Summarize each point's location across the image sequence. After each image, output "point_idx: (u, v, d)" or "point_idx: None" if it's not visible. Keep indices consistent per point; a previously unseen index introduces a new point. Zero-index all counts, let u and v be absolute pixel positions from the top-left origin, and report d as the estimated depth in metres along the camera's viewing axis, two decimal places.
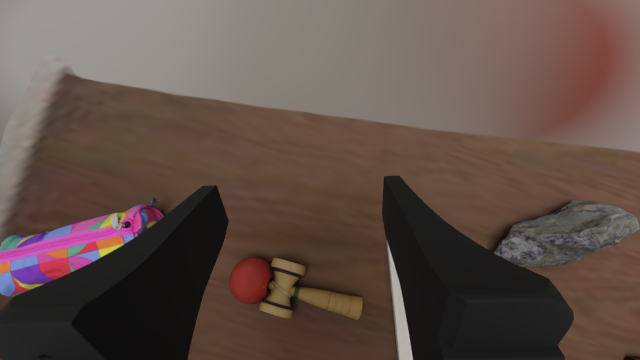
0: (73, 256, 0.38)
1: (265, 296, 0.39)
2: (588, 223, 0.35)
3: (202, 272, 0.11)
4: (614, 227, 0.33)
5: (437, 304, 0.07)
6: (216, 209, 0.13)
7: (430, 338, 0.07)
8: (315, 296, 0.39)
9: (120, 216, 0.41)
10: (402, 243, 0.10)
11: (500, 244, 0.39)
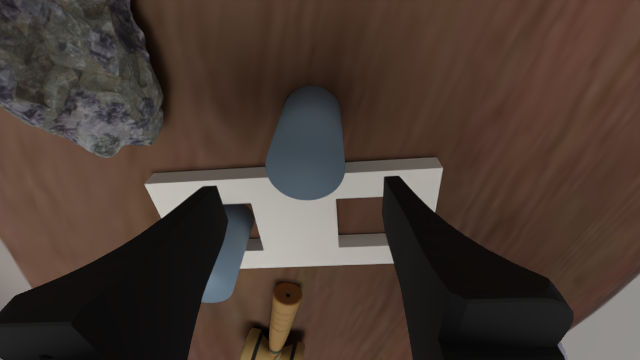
0: None
1: None
2: None
3: (202, 272, 0.11)
4: None
5: (437, 304, 0.07)
6: (216, 209, 0.13)
7: (430, 338, 0.07)
8: (275, 340, 0.32)
9: None
10: (402, 243, 0.10)
11: None
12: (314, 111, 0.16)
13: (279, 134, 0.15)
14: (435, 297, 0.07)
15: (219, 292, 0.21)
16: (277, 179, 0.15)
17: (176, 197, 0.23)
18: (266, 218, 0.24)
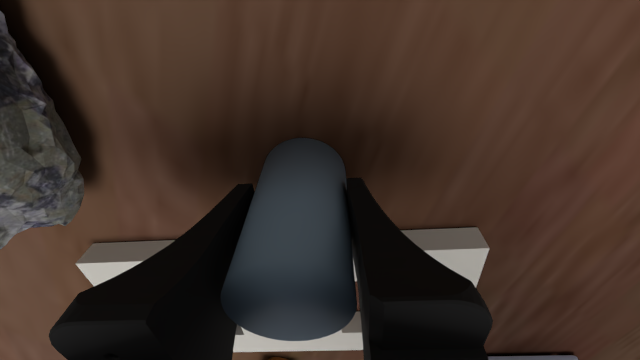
0: None
1: None
2: None
3: None
4: None
5: (367, 306, 0.07)
6: None
7: (367, 339, 0.07)
8: None
9: None
10: (356, 245, 0.10)
11: None
12: (304, 198, 0.10)
13: (244, 250, 0.09)
14: (366, 299, 0.07)
15: None
16: (243, 317, 0.09)
17: None
18: None
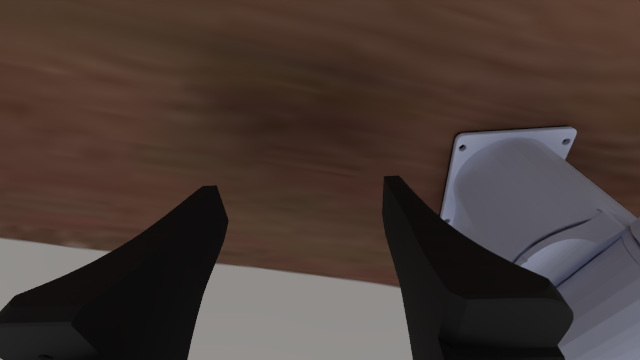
0: None
1: None
2: None
3: (202, 272, 0.11)
4: None
5: (437, 304, 0.07)
6: (216, 209, 0.13)
7: (430, 338, 0.07)
8: None
9: None
10: (402, 243, 0.10)
11: None
12: None
13: None
14: (435, 297, 0.07)
15: None
16: None
17: None
18: None
